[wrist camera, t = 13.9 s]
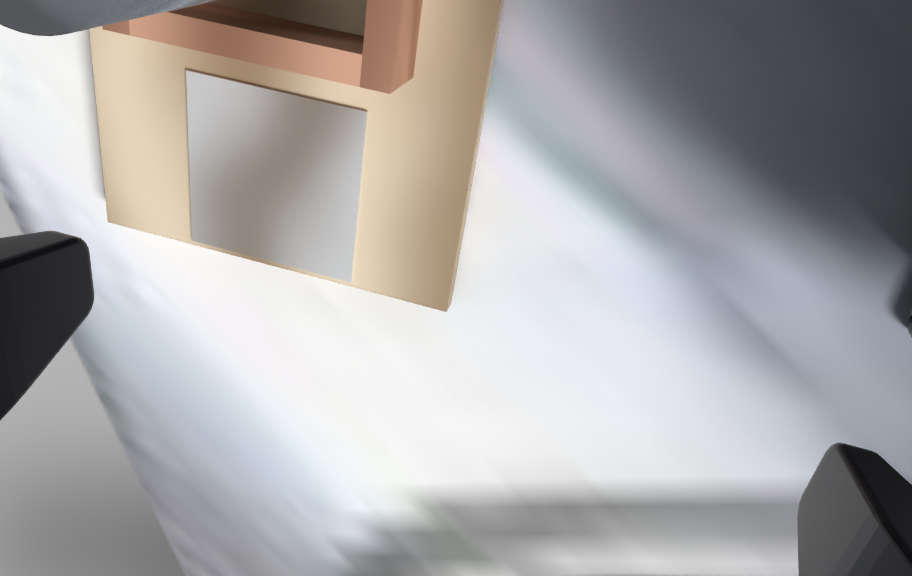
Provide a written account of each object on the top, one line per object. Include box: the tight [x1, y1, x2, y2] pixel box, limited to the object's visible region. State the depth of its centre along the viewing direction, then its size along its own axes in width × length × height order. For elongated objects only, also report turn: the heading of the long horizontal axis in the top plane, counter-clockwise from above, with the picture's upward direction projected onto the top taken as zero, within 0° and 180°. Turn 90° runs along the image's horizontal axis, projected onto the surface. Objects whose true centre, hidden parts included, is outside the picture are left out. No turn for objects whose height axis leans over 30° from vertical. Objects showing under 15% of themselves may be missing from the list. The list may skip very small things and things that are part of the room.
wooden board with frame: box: [89, 0, 504, 312], centre depth 19 cm, size 12×16×3 cm
